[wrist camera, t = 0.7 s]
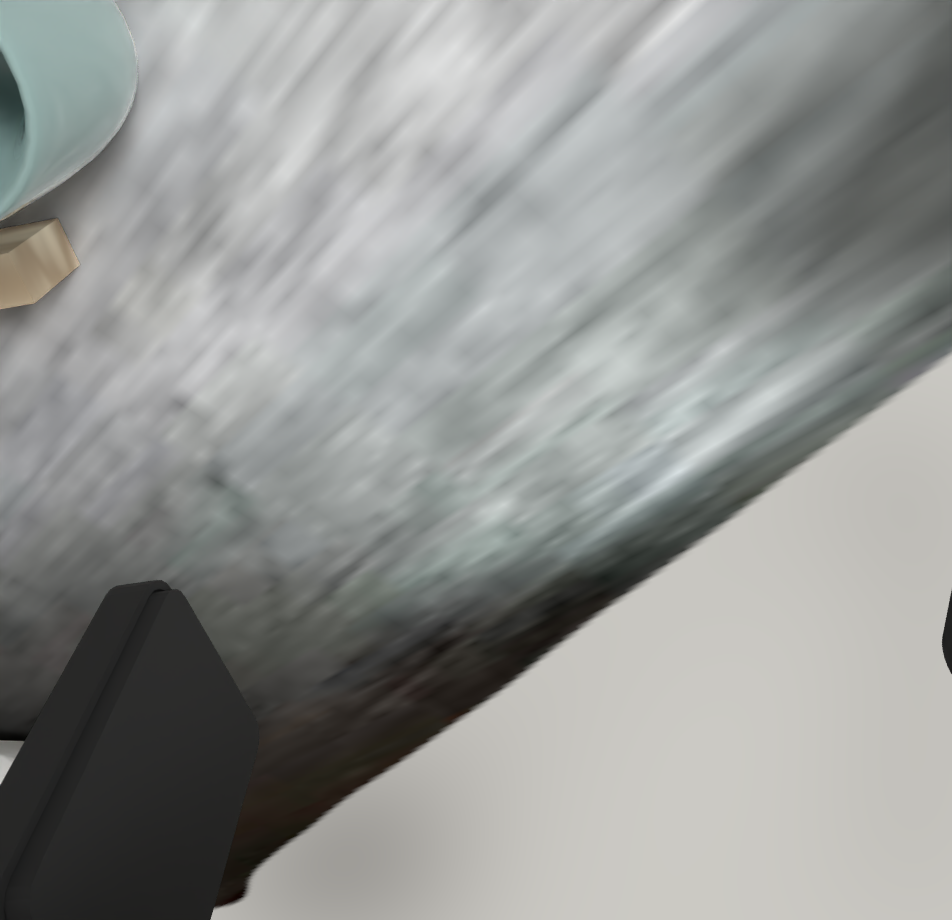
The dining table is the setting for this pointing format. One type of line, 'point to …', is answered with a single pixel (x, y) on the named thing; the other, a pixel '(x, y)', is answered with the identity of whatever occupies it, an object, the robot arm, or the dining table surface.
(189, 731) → the robot arm
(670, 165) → the dining table surface
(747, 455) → the dining table surface
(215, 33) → the dining table surface
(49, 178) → the cup
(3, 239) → the corral
